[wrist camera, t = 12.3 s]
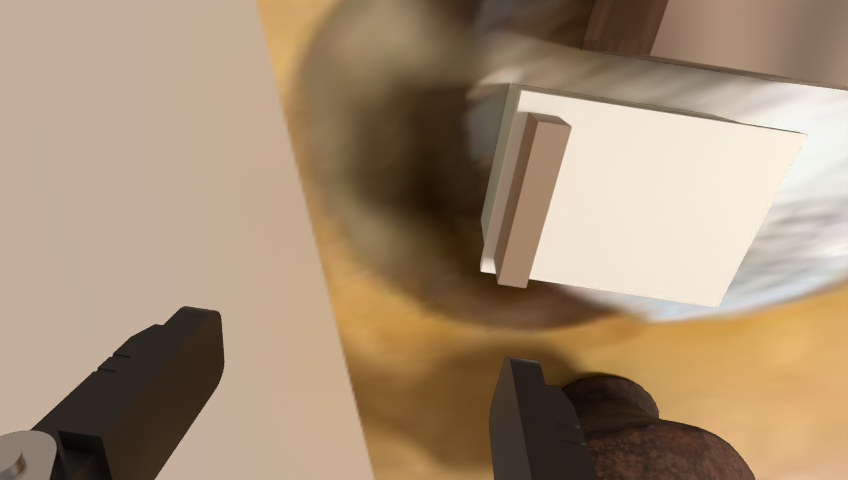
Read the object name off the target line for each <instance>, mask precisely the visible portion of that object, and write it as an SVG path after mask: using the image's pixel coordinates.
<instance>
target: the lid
mask: <svg viewBox="0 0 848 480" xmlns="http://www.w3.org/2000/svg"><path fill="white" fill-rule="evenodd" d="M807 136H808V135H807V134H803V133H799V132H795V131H788V130H782V129H775V128H769V127H763V126H756V125H750V124H743V123H737V122H730V121H724V120H717V119H711V118H705V117H698V116H692V115H685V114H679V113H672V112H666V111H659V110H653V109H647V108H640V107H634V106H627V105H621V104H614V103H608V102H602V101H595V100H589V99H582V98H576V97H569V96H563V95H556V94H550V93H544V92H537V91H531V90H524V89H520V90H519V94H518V99H517V103H516V107H515V112H514V116H513V121H512V125H511V130H510V134H509V139H508V143H507V148H506V152H505V156H504V161H503V165H502V170H501V174H500V179H499V183H498V188H497V192H496V196H495V201H494V205H493V210H492V214H491V219H490V223H489V228H488V232H487V237H486V241H485V245H484V250H483V254H482V259H481V263H480V269H481V271H482V272H488V273H495V274H496V276H497V282H498V284H502V285H509V286H515V287H522V288H526V286H527V283H528V279H534V280H540V281H547V282H553V283H560V284H566V285H573V286H579V287H586V288H592V289H599V290H605V291H612V292H618V293H624V294H631V295H637V296H644V297H650V298H657V299H663V300H670V301H676V302H683V303H689V304H696V305H702V306H709V307H715V308H718V306H719V304H720V302H721V300H722V298H723V296H724V294H725V292H726V290H727V288H728V287H729V285H730V283H731V281H732V279H733V277H734V275H735V273H736V271H737V269H738V267H739V266H740V264H741V262H742V260H743V258H744V256H745V254H746V252H747V250H748V248H749V246H750V245H751V243H752V241H753V239H754V237H755V235H756V233H757V231H758V229H759V227H760V225H761V224H762V222H763V220H764V218H765V216H766V214H767V212H768V210H769V208H770V206H771V205H772V203H773V201H774V199H775V197H776V195H777V193H778V191H779V189H780V187H781V185H782V184H783V182H784V180H785V178H786V176H787V174H788V172H789V170H790V168H791V166H792V164H793V163H794V161H795V159H796V157H797V155H798V153H799V151H800V149H801V147H802V145H803V143H804V142H805V140H806V138H807Z"/></svg>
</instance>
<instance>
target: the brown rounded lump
mask: <svg viewBox="0 0 848 480" xmlns="http://www.w3.org/2000/svg"><path fill="white" fill-rule="evenodd" d="M561 390H562V391H563V392H564V394H565V395H566V396H567V398H568V399H569V400H570V401H571V403H572V404H573V405H574V408H575V411H576V414H577V417H578V420H579V423H580V430H582V432H583V435H584V438H585V441H586V447H588V450H589V453H590V456H591V459H592V462H593V465H594V468H595V471H596V474H597V477H598V480H755V477H754V474H753V473H752V471H751V470H750V468H749V467H748V465H747V464H746V462H745V461H744V460H743V458H742V457H741V456H740V455H739V453H738V452H737V451H736V450H735V449H734V448H733V447H732V446H731V445H730V444H729V443H728V442H726V441H725V440H723V439H722V438H720V437H719V436H717V435H715V434H713V433H711V432H709V431H706V430H704V429H701V428H699V427H695V426H691V425H687V424H683V423H679V422H674V421H668V420H662V419H659V411H658V408H657V406H656V403H655V401H654V400H653V398H652V397H651V395H650V394H649V393H648V392H646V391H645V390H644V389H643V387H641V386H640V385H639V384H637V383H635V382H633V381H631V380H628V379H621V378H617V377H612V376H608V377H595V378H587V379H580V380H577V381H575V382H573V383H571V384H569V385H567V386H565V387H564V388H562V389H561Z"/></svg>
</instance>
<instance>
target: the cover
mask: <svg viewBox="0 0 848 480" xmlns="http://www.w3.org/2000/svg"><path fill="white" fill-rule="evenodd" d="M581 50H587V51H593V52H599V53H606V54H612V55H618V56H624V57H631V58H637V59H643V60H649V61H656V62H662V63H668V64H674V65H681V66H687V67H693V68H699V69H705V70H712V71H718V72H724V73H730V74H737V75H743V76H749V77H755V78H762V79H768V80H774V81H780V82H787V83H794V84H801V85H809V86H817V87H825V88H832V89H840V90H848V0H594V4H593V7H592V11H591V15H590V18H589V22H588V26H587V29H586V33H585V36H584V40H583V44H582V47H581Z"/></svg>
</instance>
